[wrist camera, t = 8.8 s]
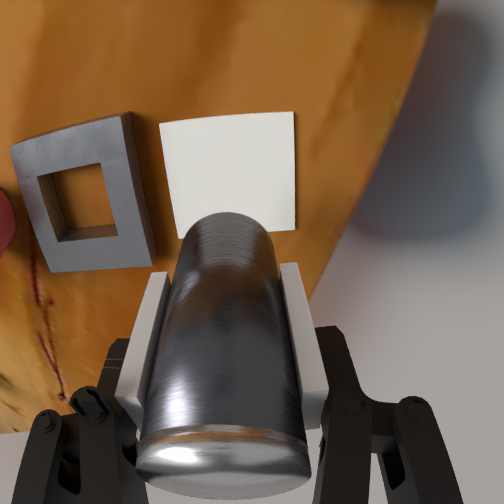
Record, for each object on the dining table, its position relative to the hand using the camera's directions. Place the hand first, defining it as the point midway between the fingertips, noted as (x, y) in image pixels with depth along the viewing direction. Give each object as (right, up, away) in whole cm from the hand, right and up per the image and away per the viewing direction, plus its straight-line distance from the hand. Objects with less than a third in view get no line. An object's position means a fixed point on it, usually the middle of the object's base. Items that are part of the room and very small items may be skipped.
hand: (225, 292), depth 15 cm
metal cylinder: (0, +2, +3) cm, 3 cm away
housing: (-15, +7, +13) cm, 21 cm away
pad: (-1, +8, +13) cm, 15 cm away
